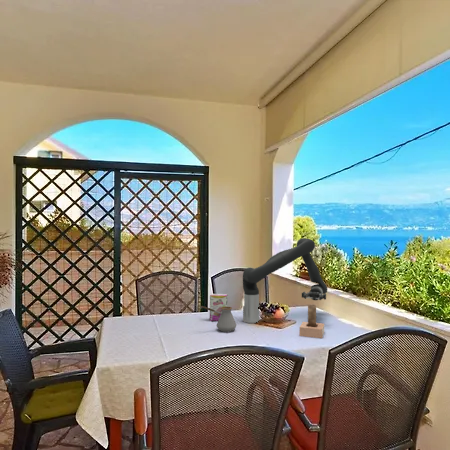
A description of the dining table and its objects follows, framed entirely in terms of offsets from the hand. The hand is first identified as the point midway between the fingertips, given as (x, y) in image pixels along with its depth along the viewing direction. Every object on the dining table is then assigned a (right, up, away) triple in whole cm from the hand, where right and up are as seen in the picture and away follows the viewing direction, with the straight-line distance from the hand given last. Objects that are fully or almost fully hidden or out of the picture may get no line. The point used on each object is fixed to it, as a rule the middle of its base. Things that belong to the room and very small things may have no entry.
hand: (312, 297), depth 219 cm
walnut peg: (-3, -17, -12) cm, 21 cm away
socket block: (-3, -18, -12) cm, 22 cm away
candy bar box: (-55, -18, +17) cm, 60 cm away
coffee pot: (-55, -18, -6) cm, 58 cm away
